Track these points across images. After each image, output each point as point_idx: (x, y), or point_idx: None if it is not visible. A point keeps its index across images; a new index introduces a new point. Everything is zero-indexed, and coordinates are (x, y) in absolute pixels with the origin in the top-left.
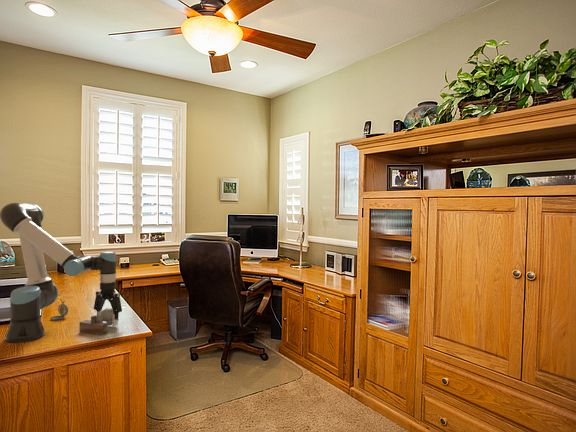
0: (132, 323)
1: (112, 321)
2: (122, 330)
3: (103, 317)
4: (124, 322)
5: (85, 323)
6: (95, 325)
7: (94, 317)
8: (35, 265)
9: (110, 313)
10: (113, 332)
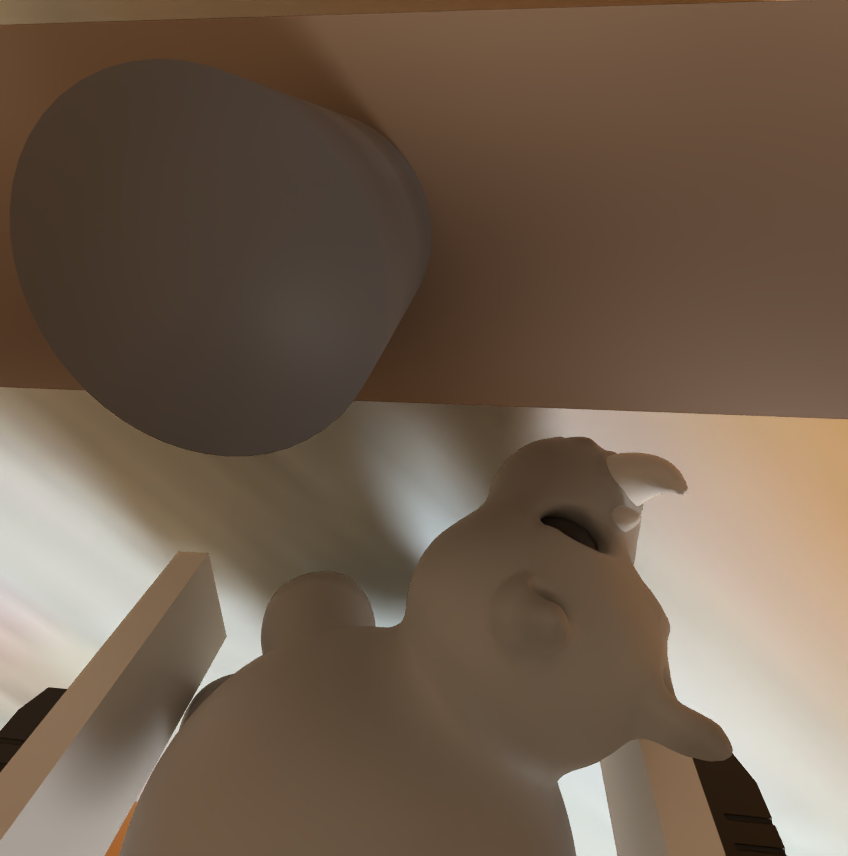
0: None
1: (149, 631)
2: (14, 509)
3: (338, 683)
4: None
5: (637, 15)
6: (33, 35)
7: (28, 188)
8: None
9: None
10: None
